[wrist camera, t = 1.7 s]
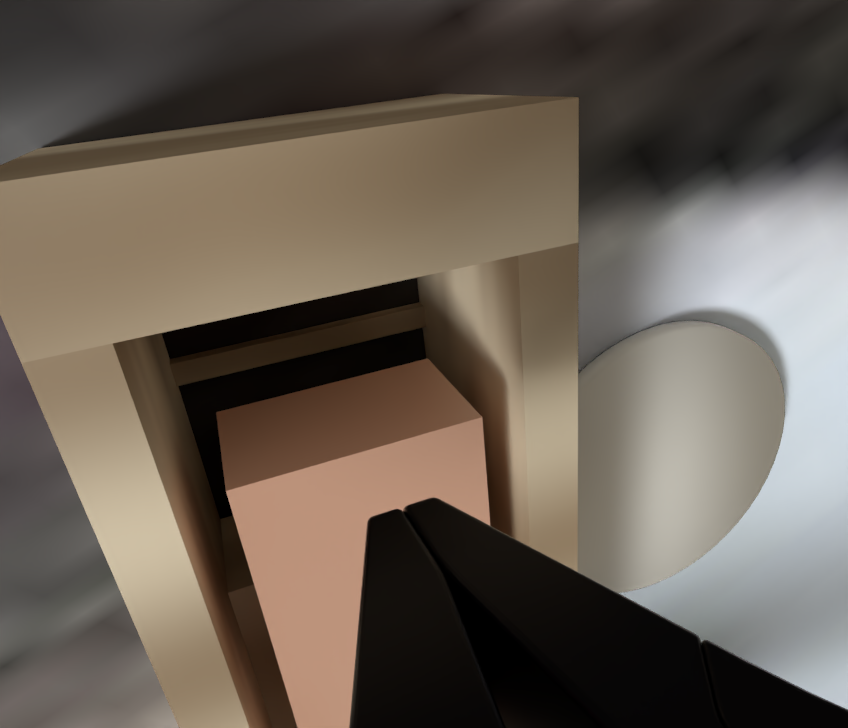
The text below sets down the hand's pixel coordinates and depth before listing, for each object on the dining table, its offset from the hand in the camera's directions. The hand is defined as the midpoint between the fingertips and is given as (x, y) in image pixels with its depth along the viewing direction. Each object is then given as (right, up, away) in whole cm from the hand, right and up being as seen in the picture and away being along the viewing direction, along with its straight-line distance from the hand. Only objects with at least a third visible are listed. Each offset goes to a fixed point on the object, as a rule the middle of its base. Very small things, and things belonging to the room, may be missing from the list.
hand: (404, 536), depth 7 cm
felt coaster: (+7, -1, +12) cm, 14 cm away
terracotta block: (-1, -2, +6) cm, 7 cm away
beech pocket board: (-2, -1, +8) cm, 8 cm away
